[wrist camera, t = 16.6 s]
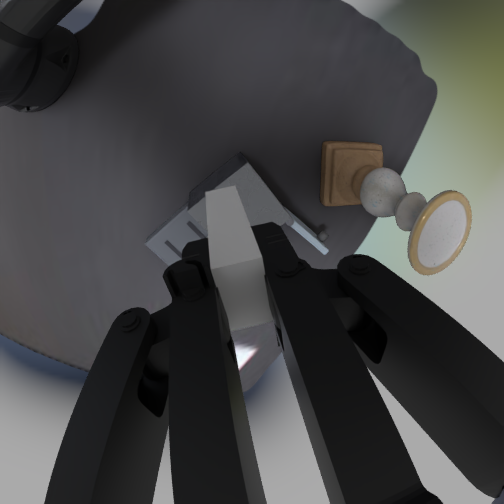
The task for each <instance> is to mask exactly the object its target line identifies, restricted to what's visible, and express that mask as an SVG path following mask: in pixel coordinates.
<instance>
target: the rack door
mask: <svg viewBox="0 0 504 504" xmlns="http://www.w3.org/2000/svg"><path fill="white" fill-rule="evenodd" d="M280 203H281V202H280ZM281 204H282V203H281ZM282 206H283V204H282ZM283 207H284V206H283ZM284 209H285V210H286V211H287V213H288V214H289V216H290V217H291V219H289V220H288V221H287V222H285V223H286V224H287V225H288V226H291V227H292V228H293V229H295V230H296V231H297V232H298V233H299V234H301V235H302V236H303V237H304V238H305V239H307V240H308V241H309V242H310V243H311V244H313V245H314V246H315V247H316V248H317V249H318V250H320V251H321V252H322V253H323V254H324V255H325V254H326V253H327V252H328V251H329V250H328V249H327V247H326V246H325V245H324V243H323V241H324V240H325V239H326V238H327V237H328V236H329V235H328V234H327V233H326V232H325V231H324V230H322V231H321V232H320V233H319V234H318V235H316V234H315V233H314V232H313V231H312V230H311V229H310V228H309V227H307V226H306V225H305V224H304V223H303V222H302V221H301V220H299V219H298V218H297V217H296V216H295V215H294V214H292V213H291V212H290V211H289V210H288V209H287V208H285V207H284Z"/></svg>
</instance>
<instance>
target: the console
mask: <svg viewBox="0 0 504 504" xmlns="http://www.w3.org/2000/svg"><path fill="white" fill-rule="evenodd" d="M188 202H189V201H188ZM188 202H187V203H186V204H185V205H184V206H183V207H181V208H180V209H179V210H178V211H177V212H176V213H175V214H173V215H172V216H171V217H170V218H169V219H168V220H167V221H166V222H164V223H163V224H162V225H161V226H160V227H159V228H158V229H157V230H156V231H154V232H153V233H152V234H151V235H150V236H149V237H148V238H147V240H146V242H145V245H146V246H147V247H148V248H150V249H151V250H152V251H153V252H154V253H155V254H156V255H157V256H158V257H160V258H161V259H162V260H163V261H164V262H165V263H166V264H167V265H169V266H170V265H171V264H173V263H175V262H176V261H179V260H181V259H182V250H183V248H184V247H185V245H186V244H187V243H188V242H191V241H195V240H200V239H204V238H206V237H208V232H207V231H206V230H205V229H204V228H203V227H202V226H201V225H200V224H199V223H198V222H197V221H196V220H195V219H194V218H193V217H192V216H191V215H190V214H189V213H188V212H187V209H188Z"/></svg>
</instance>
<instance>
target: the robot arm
mask: <svg viewBox="0 0 504 504" xmlns="http://www.w3.org/2000/svg"><path fill="white" fill-rule="evenodd" d="M81 1H82V0H0V106H4V105H5V106H7V107H10V108H12V109H14V110H16V111H19V112H33V111H38V110H41V109H44V108H46V107H48V106H49V105H51V104H52V103H53V102H55V101H56V100H57V99H58V98H59V97H60V96H61V95H62V93H63V92H64V91H65V89H66V88H67V86H68V85H69V83H70V81H71V79H72V77H73V75H74V73H75V70H76V66H77V62H78V44H77V40H76V38H75V36H74V35H73V33H72V32H70V30H68V29H66V28H64V27H61V26H59V25H57V24H58V22H60V21H61V20H62V18H64V17H65V16H66V15H67V14H68V13H69V12H70V11H71V10H72V9H73V8H74V7H76V6H77V5H78V4H79V3H80V2H81ZM205 195H206V213H207V228H208V238H204V239H200V240H195V241H191V242H188V243H187V244H186V245H185V247H184V248H183V250H182V259H181V260H179V261H176V262H175V263H173V264H171V265H170V266H169V267H168V268H167V269H166V270H165V272H164V274H163V279H164V281H165V283H166V285H167V288H168V290H169V292H170V294H171V296H172V303H171V304H169V305H168V306H167V307H165V308H163V309H161V310H159V311H157V312H155V313H153V314H151V315H150V314H149V312H148V311H147V310H146V309H144V308H139V307H136V308H131V309H128V310H126V311H124V312H123V313H121V314H120V315H119V316H118V317H117V318H116V319H115V321H114V322H113V324H112V326H111V328H110V330H109V332H108V334H107V336H106V338H105V340H104V342H103V344H102V346H101V348H100V350H99V352H98V354H97V356H96V359H95V361H94V363H93V365H92V367H91V370H90V372H89V374H88V376H87V379H86V381H85V383H84V386H83V388H82V390H81V393H80V395H79V398H78V400H77V402H76V405H75V408H74V410H73V413H72V415H71V418H70V421H69V423H68V426H67V429H66V432H65V435H64V437H63V440H62V443H61V446H60V449H59V452H58V456H57V458H56V462H55V465H54V468H53V472H52V476H51V479H50V482H49V486H48V490H47V494H46V499H45V503H44V504H152V502H153V497H154V491H155V486H156V481H157V476H158V471H159V467H160V462H161V457H162V452H163V448H164V443H165V439H166V434H167V430H168V426H169V441H170V459H171V474H172V486H173V496H174V504H267V503H266V498H265V494H264V490H263V486H262V481H261V477H260V473H259V468H258V464H257V460H256V455H255V450H254V446H253V441H252V436H251V431H250V426H249V421H248V416H247V411H246V406H245V401H244V396H243V391H242V385H241V380H240V375H239V369H238V364H237V358H236V353H235V347H234V342H233V340H232V337H231V334H230V330H231V331H235V330H239V329H244V328H248V327H252V326H256V325H260V324H264V323H268V322H272V321H273V320H274V323H275V329H276V335H277V341H278V346H280V347H281V350H282V353H283V356H284V359H285V362H286V366H287V369H288V372H289V375H290V378H291V381H292V385H293V388H294V391H295V394H296V397H297V400H298V403H299V406H300V410H301V413H302V416H303V419H304V422H305V426H306V429H307V432H308V435H309V438H310V441H311V444H312V448H313V450H314V454H315V457H316V460H317V463H318V466H319V470H320V472H321V476H322V479H323V482H324V485H325V488H326V491H327V495H328V498H329V501H330V504H443V503H442V502H441V500H440V499H439V498H438V497H437V496H435V495H434V494H432V493H430V492H429V491H427V490H426V489H425V487H424V486H423V485H422V483H421V481H420V478H419V476H418V474H417V471H416V469H415V467H414V465H413V462H412V460H411V458H410V456H409V454H408V451H407V449H406V447H405V445H404V442H403V440H402V438H401V436H400V434H399V432H398V429H397V428H396V426H395V424H394V421H393V419H392V417H391V415H390V413H389V411H388V409H387V407H386V405H385V403H384V401H383V399H382V397H381V395H380V393H379V391H378V389H377V387H376V385H375V383H374V381H373V379H372V377H371V375H370V373H369V371H368V369H369V370H370V371H371V372H372V373H373V374H374V375H375V376H376V378H377V379H378V380H379V381H380V382H381V383H382V384H383V385H384V386H385V387H386V388H387V390H388V391H389V392H390V393H391V394H392V395H393V396H394V397H395V399H396V400H397V401H398V402H399V403H400V404H401V405H402V406H403V407H404V409H405V410H406V411H407V412H408V413H409V414H410V415H411V416H412V417H413V418H414V420H415V421H416V422H417V423H418V424H419V425H420V426H421V428H422V429H423V430H424V431H425V432H426V433H427V434H428V435H429V436H430V438H431V439H432V440H433V441H434V442H435V443H436V444H437V445H438V447H439V448H440V449H441V450H442V451H443V452H444V453H445V454H446V456H447V457H448V458H449V459H450V460H451V461H452V462H453V463H454V465H455V466H456V467H457V468H458V469H459V470H460V471H461V472H462V473H463V475H464V476H465V477H466V478H467V479H468V480H469V481H470V482H471V483H472V484H473V485H474V486H475V487H476V488H477V489H479V490H480V491H481V492H483V493H484V494H486V495H488V496H491V497H493V498H495V500H494V501H493V502H492V504H504V362H503V361H502V360H501V359H499V357H497V356H496V355H495V354H494V353H493V352H492V351H491V350H490V349H488V348H487V347H486V346H485V345H484V344H483V343H482V342H481V341H479V340H478V339H477V338H476V337H475V336H474V335H473V334H471V333H470V332H469V331H468V330H467V329H466V328H464V327H463V326H462V325H461V324H459V323H458V322H457V321H456V320H455V319H453V318H452V317H451V316H450V315H449V314H447V313H446V312H445V311H444V310H442V309H441V308H440V307H439V306H437V305H436V304H435V303H434V302H432V301H431V300H430V299H428V298H427V297H426V296H424V295H423V294H422V293H421V292H419V291H418V290H417V289H415V288H414V287H412V286H411V285H410V284H409V283H407V282H406V281H405V280H403V279H402V278H400V277H399V276H398V275H397V274H395V273H394V272H392V271H391V270H390V269H388V268H387V267H386V266H384V265H383V264H381V263H380V262H379V261H377V260H375V259H374V258H372V257H369V256H367V255H362V254H353V255H349V256H346V257H344V258H343V259H341V260H340V262H339V263H338V265H337V269H315V268H311V266H310V265H309V264H308V263H307V262H306V261H305V260H302V259H300V258H298V256H297V254H296V252H295V251H294V249H293V247H292V245H291V244H290V242H289V240H288V239H287V237H286V235H285V234H284V232H283V230H282V228H281V226H279V225H277V224H276V223H274V222H268V223H263V224H259V225H255V226H250V223H249V221H248V218H247V215H246V213H245V210H244V208H243V205H242V202H241V200H240V197H239V194H238V192H237V189H236V187H235V185H234V186H230V187H225V188H221V189H217V190H212V191H208V192H205ZM367 368H368V369H367Z"/></svg>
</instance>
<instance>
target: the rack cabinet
mask: <svg viewBox="0 0 504 504" xmlns="http://www.w3.org/2000/svg"><path fill="white" fill-rule="evenodd" d="M234 185H235V187H236V189H237V192H238V194H239V197H240V200H241V202H242V205H243V208H244V210H245V213H246V215H247V218H248V221H249V223H250V226H255V225H259V224H263V223H268V222H274V223H276V224H277V225H279V226H281V225H283V224H284V223H285V222H287V221H288V220H289V219H291V217H290V216H289V214H288V213H287V211H286V210H285V209H284V207H283V206H282V204H281V203H280V202H279V200H278V199H277V197H276V196H275V195H274V194H273V192H272V191H271V190H270V188H269V187H268V186H267V185H266V183H265V182H264V181H263V179H262V178H261V177H260V176H259V174H258V173H257V172H256V171H255V169H254V168H253V167H252V166H251V164H250V163H249V162H248V161H247V159H246V158H245V157H244V156H243V154H242V153H241V152H239V153H238V154H237V155H235V156H234V157H233V158H231V159H230V160H229V161H228V162H226V163H225V164H224V165H222V166H221V167H220V168H219V169H217V170H216V171H215V172H214V173H212V174H211V175H210V176H209V177H208V178H206V179H205V180H204V181H203V182H202V183H200V184H199V185H198V186H197V187H196V188H194V189H193V190H192V191H191V192H190V195H189V202H188V209H187V212H188V213H189V214H190V215H191V216H192V217H193V218H194V219H195V220H196V221H197V222H198V223H199V224H200V225H201V226H202V227H203V228H204V229H205V230H206V231H207V232H208V228H207V213H206V195H205V192H208V191H212V190H217V189H221V188H225V187H230V186H234Z"/></svg>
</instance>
